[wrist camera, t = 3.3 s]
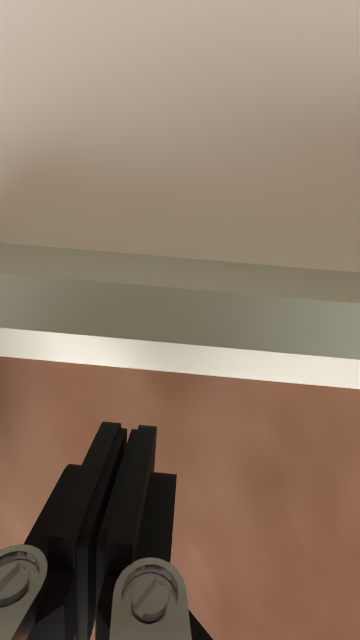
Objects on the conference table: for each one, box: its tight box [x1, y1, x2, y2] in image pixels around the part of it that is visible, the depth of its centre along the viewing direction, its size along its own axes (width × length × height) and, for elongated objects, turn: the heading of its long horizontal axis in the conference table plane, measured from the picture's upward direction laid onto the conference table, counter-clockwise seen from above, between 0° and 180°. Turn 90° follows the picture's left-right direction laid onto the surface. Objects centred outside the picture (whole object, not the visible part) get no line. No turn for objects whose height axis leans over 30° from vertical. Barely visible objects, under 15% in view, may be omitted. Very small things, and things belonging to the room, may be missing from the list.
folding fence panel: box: [0, 243, 360, 360], centre depth 9 cm, size 18×2×6 cm, turn 86°
